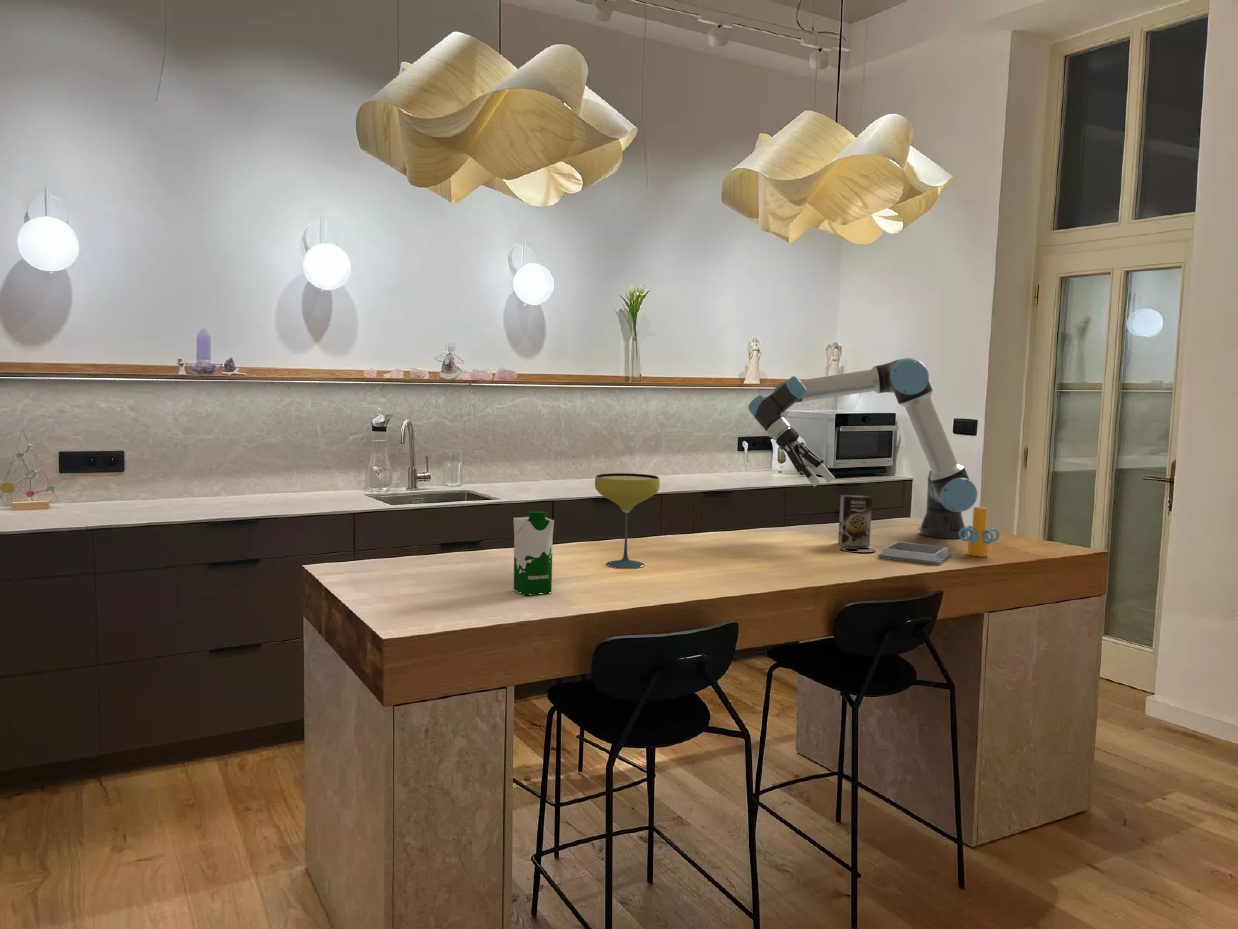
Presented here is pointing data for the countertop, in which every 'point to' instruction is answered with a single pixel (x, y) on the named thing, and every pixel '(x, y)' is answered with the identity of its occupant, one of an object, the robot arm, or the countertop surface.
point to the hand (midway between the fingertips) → (824, 482)
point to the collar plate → (916, 553)
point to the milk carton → (533, 553)
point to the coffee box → (855, 520)
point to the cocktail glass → (626, 500)
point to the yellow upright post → (978, 534)
